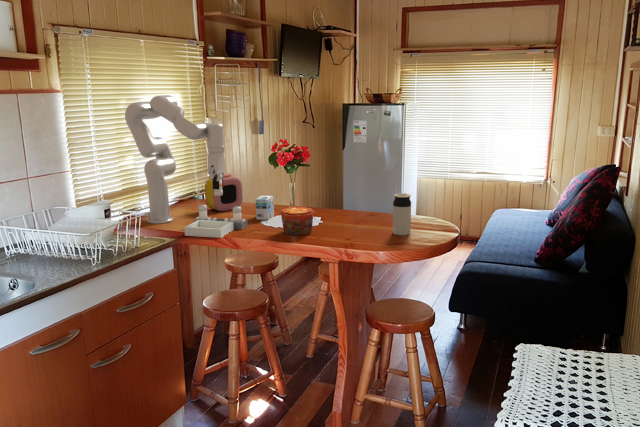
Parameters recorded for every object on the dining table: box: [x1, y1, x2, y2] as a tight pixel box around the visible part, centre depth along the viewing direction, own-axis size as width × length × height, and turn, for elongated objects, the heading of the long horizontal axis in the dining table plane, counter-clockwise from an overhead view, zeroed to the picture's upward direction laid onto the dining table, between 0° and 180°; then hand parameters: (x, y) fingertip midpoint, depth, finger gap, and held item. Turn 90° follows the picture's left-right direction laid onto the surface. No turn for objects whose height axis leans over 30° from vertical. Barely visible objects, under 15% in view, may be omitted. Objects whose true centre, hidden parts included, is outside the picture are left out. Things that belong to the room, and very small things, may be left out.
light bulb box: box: [255, 195, 275, 221], centre depth 279 cm, size 11×7×11 cm, turn 168°
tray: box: [183, 220, 235, 239], centre depth 252 cm, size 18×14×4 cm
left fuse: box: [197, 204, 208, 220], centre depth 265 cm, size 4×4×10 cm
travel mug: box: [392, 192, 412, 236], centre depth 245 cm, size 8×8×18 cm
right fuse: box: [232, 206, 243, 223], centre depth 260 cm, size 4×4×10 cm
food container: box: [279, 206, 315, 237], centre depth 250 cm, size 16×16×11 cm
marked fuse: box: [214, 174, 223, 196], centre depth 259 cm, size 4×4×10 cm
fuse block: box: [193, 216, 248, 230], centre depth 263 cm, size 25×7×4 cm, turn 76°
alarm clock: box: [204, 173, 244, 213], centre depth 299 cm, size 18×11×19 cm, turn 132°
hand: (218, 187), depth 259 cm, fingers closed on marked fuse, 3 cm apart
